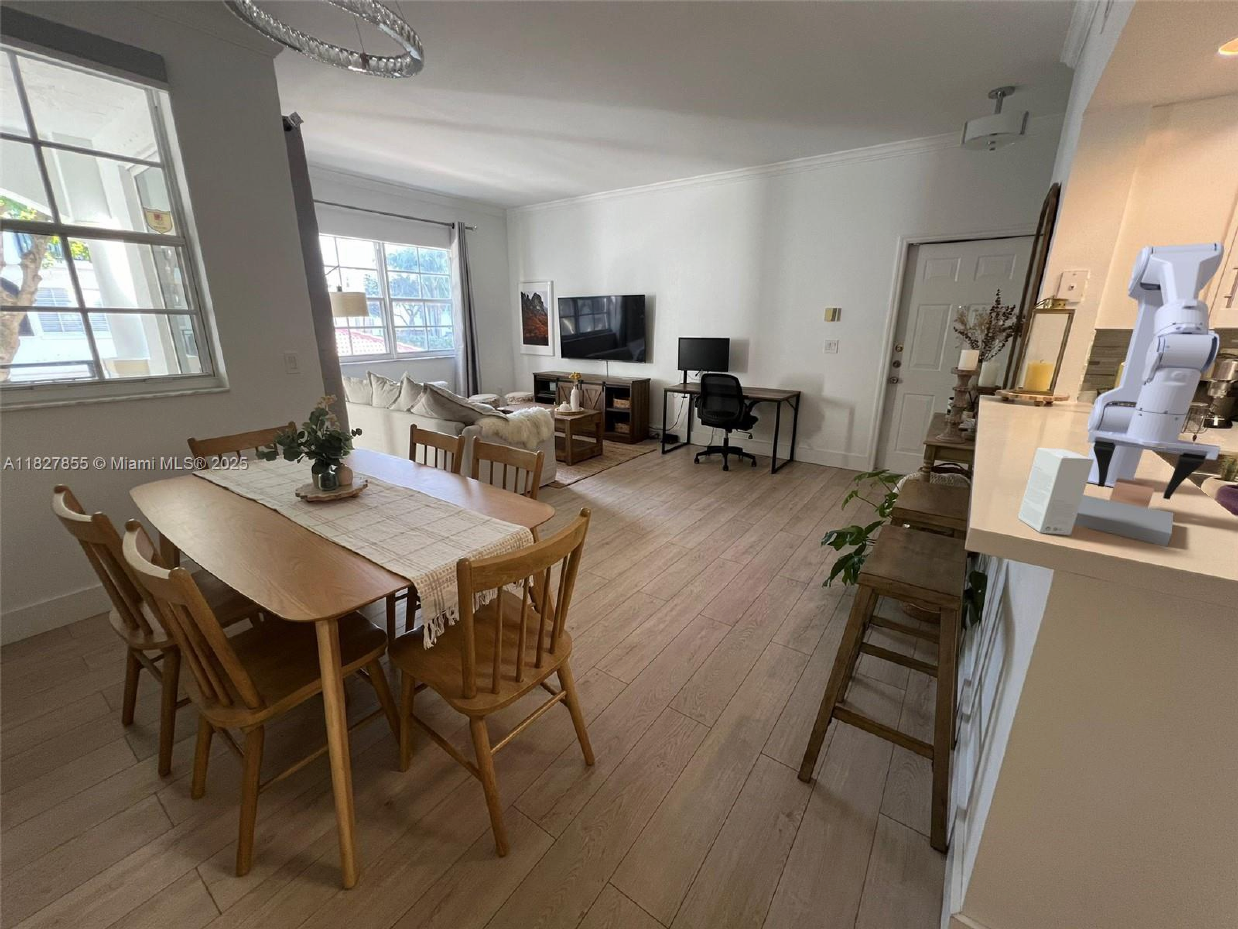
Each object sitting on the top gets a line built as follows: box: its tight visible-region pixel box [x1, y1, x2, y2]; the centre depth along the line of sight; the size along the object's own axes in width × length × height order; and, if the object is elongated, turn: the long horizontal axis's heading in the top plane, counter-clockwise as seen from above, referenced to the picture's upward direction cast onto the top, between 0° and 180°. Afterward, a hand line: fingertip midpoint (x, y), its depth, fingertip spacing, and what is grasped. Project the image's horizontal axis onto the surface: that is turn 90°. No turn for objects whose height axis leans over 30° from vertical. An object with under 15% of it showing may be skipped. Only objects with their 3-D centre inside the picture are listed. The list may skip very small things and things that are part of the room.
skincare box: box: [1017, 447, 1094, 536], centre depth 73 cm, size 6×4×12 cm
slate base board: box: [1074, 494, 1174, 547], centre depth 76 cm, size 12×12×2 cm
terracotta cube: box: [1109, 478, 1156, 508], centre depth 81 cm, size 4×4×5 cm
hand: (1132, 491), depth 81 cm, fingers open, 7 cm apart
